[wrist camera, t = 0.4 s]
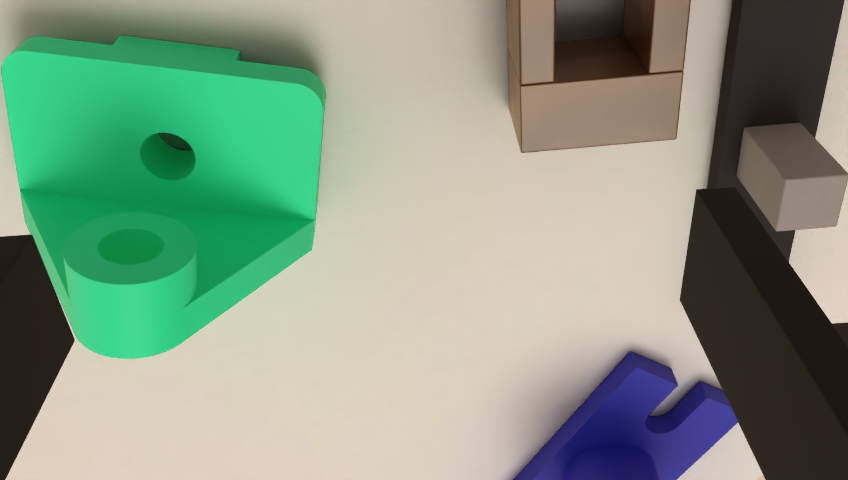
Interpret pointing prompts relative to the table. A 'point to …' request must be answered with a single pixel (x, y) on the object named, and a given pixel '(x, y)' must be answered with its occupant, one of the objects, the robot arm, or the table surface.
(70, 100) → the camera mount
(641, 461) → the mount
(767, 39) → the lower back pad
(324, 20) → the table surface
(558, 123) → the brown wooden frame
